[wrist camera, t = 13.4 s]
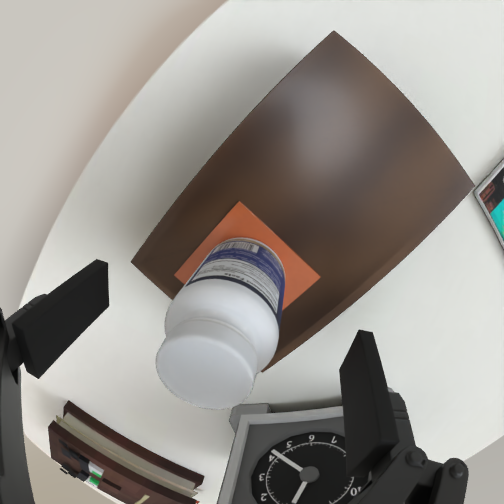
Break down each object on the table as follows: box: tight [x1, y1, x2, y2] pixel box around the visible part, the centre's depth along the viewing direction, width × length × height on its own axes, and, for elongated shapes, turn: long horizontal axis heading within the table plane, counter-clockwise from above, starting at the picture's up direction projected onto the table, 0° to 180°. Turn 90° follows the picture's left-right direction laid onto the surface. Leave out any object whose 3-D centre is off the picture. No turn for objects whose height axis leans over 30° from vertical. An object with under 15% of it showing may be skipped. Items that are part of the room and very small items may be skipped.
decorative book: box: [48, 401, 204, 504], centre depth 39 cm, size 19×8×30 cm
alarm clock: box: [217, 388, 405, 504], centre depth 23 cm, size 18×13×18 cm
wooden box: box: [131, 31, 475, 372], centre depth 21 cm, size 13×21×5 cm, turn 138°
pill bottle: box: [156, 237, 285, 410], centre depth 16 cm, size 5×5×10 cm
